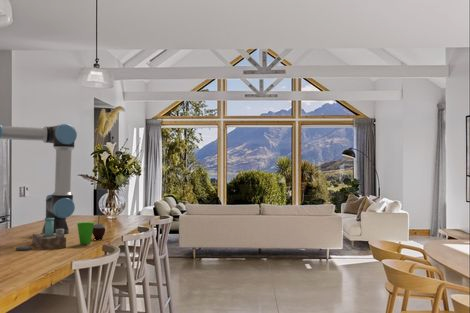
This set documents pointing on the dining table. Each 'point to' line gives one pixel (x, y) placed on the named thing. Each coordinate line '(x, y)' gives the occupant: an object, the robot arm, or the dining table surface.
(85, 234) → the cup
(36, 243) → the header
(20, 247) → the coaster
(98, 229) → the mate gourd
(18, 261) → the dining table surface
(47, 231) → the teal tall cylinder
